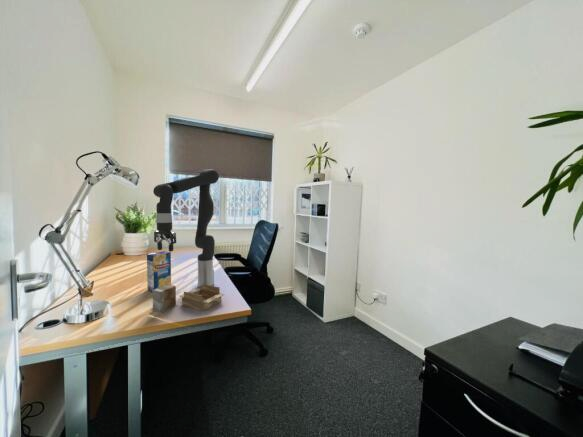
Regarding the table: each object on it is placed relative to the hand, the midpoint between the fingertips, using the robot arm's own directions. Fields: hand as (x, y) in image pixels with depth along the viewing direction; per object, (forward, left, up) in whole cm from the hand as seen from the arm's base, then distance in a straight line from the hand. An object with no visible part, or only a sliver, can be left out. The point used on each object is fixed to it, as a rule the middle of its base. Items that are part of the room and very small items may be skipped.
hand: (165, 250), depth 126 cm
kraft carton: (-3, +24, -27) cm, 36 cm away
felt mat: (+9, +11, -27) cm, 30 cm away
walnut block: (+9, +11, -26) cm, 30 cm away
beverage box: (-9, -17, -27) cm, 34 cm away
